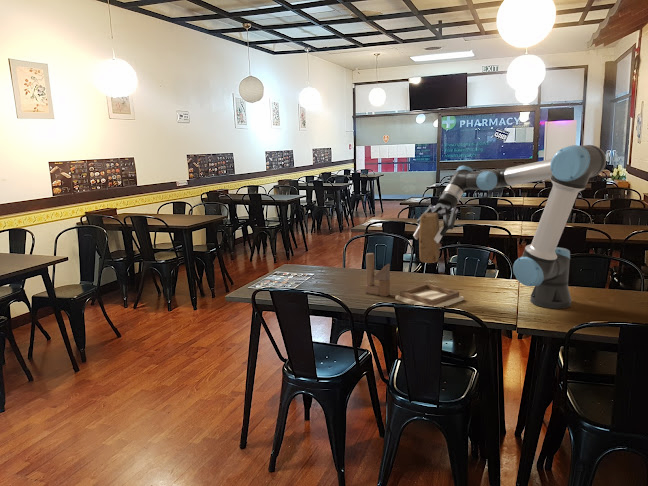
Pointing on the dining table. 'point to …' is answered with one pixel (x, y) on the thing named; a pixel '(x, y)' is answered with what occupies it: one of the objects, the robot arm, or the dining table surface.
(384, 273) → the wooden block
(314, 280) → the dining table surface
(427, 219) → the block
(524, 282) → the robot arm
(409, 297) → the pocket board
